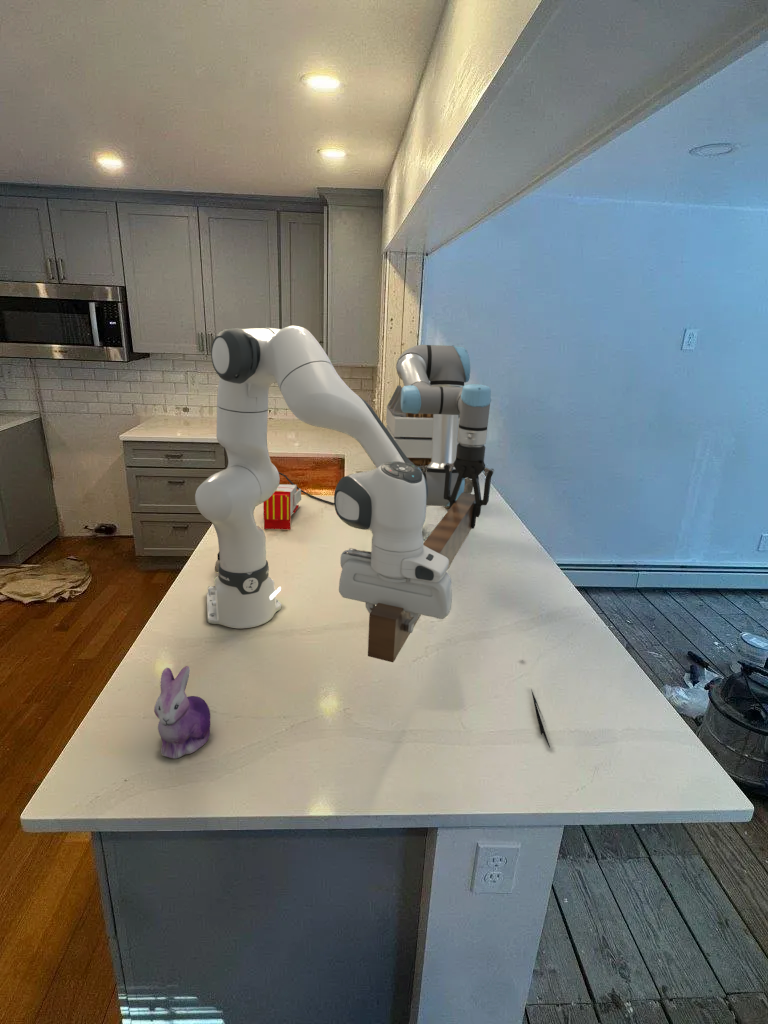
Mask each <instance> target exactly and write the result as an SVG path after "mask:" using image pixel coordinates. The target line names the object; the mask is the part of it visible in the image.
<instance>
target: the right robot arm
mask: <svg viewBox="0 0 768 1024" xmlns="http://www.w3.org/2000/svg"><path fill="white" fill-rule="evenodd" d="M395 370H396V372H397V373H396V374H397V376H398V377H399V379H400V380H401V381H402V383H403V387H402V391H401V410H402V411H403V412H404V413H412V414H433V433H432V457H431V463H430V464H429V465H428V466H426V471H422V469H421V468H420V466H417V468H418V469H420V470H421V472H422V473H423V475H424V477H425V479H426V481H427V485H428V497H427V500H426V507H428V506H429V507H444V506H445V507H447V506H450V507H449V509H450V508H451V506H452V505H453V504H454V503H455V501H456V500H457V499H458V497H459V496H460V495H461V493H463V492H464V486H465V479H466V478H469V479H471V480H472V483H473V494H474V495H475V502H476V504H474V506H473V512H472V521H471V530H473V529H475V527H476V522H477V518H479V517H480V516H481V511H482V506H487V505H488V504H489V502H490V492H491V483H492V477H493V475H494V473H495V469H494V468H489V467H487V466H486V463H485V456H486V454H485V453H486V446H485V445H486V444H487V436H488V427H489V418H490V417H489V416H490V409H491V408H490V407H491V403H492V388H491V387H490V386H488V385H485V384H480V383H468V382H469V381H470V377H471V359H470V355H469V352H468V350H467V349H466V348H465V347H464V346H459V345H457V346H456V345H444V344H443V345H441V344H440V345H439V344H417V345H413V346H412V347H409V348H407V349H406V350H404V351H403V352H402V353H401V354H400V355H399V357H398V358H397V361H396V366H395ZM466 383H468V384H466ZM458 415H460V421H459V430H458ZM457 433H458V442H459V444H458V445H457ZM483 472H484V474H483V475H484V476H485V480H484V488H483V497H482V493H481V486H480V476H479V475H481V474H482V473H483ZM278 473H279V476H280V475H281V476H282V477H284V478H285V479H286V480H287V481H288V482H289V484H290V485H296V484H295V483H294V482H292V480H291V479H290V478H288V476H287V475H286V474H284V473H282V472H279V471H278ZM299 489H301V488H300V487H298V486H297V491H298V490H299ZM301 493H303V494H304V495H306V496H308V497H310V498H313V499H314V500H318V501H321V502H323V503H327V504H330V505H333V506H334V501H333V502H332V501H328V500H327V499H322V498H320V497H317V496H315V495H312V494H310V493H308V492H306V491H304V490H303V489H301ZM445 507H444V508H445ZM449 509H448V510H449Z"/></svg>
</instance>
